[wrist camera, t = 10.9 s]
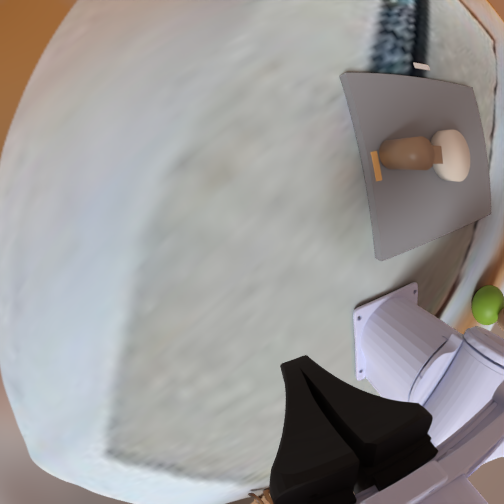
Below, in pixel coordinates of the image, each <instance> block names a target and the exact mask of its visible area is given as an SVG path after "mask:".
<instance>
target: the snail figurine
mask: <svg viewBox="0 0 504 504" xmlns="http://www.w3.org/2000/svg"><path fill="white" fill-rule="evenodd" d="M472 313H473V316H474V318H475V319H476V320H477V321H478V322H479V323H480V324H483V325H490V324H493V323H495V322H496V321H498V325H499V327H500V328H501V329H502V330H503V331H504V296H503V294H502V292H501V291H500V289H499V288H497V287H495V286H493V285H487V286H484V287H482V288H480V289H479V290H478V291H477V292H476V294H475V296H474V298H473V301H472Z"/></svg>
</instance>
